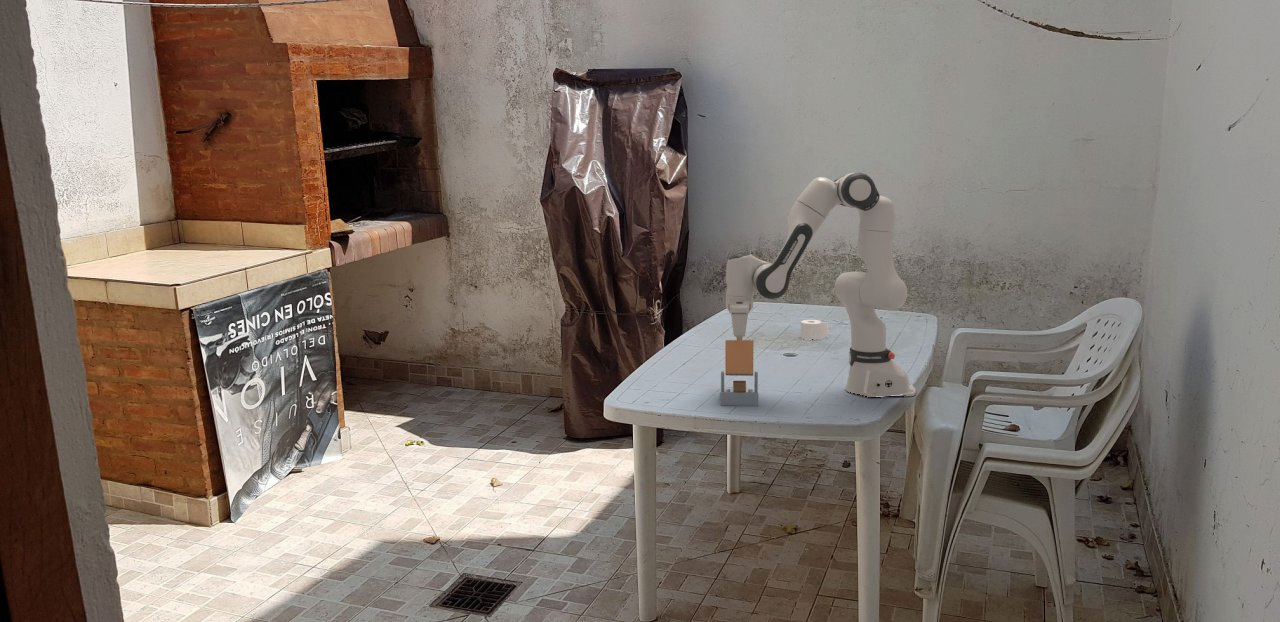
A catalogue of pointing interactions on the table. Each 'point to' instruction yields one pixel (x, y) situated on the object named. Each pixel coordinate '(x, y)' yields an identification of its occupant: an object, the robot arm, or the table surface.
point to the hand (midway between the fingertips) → (739, 344)
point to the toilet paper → (814, 329)
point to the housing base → (739, 395)
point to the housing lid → (739, 357)
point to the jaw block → (739, 386)
